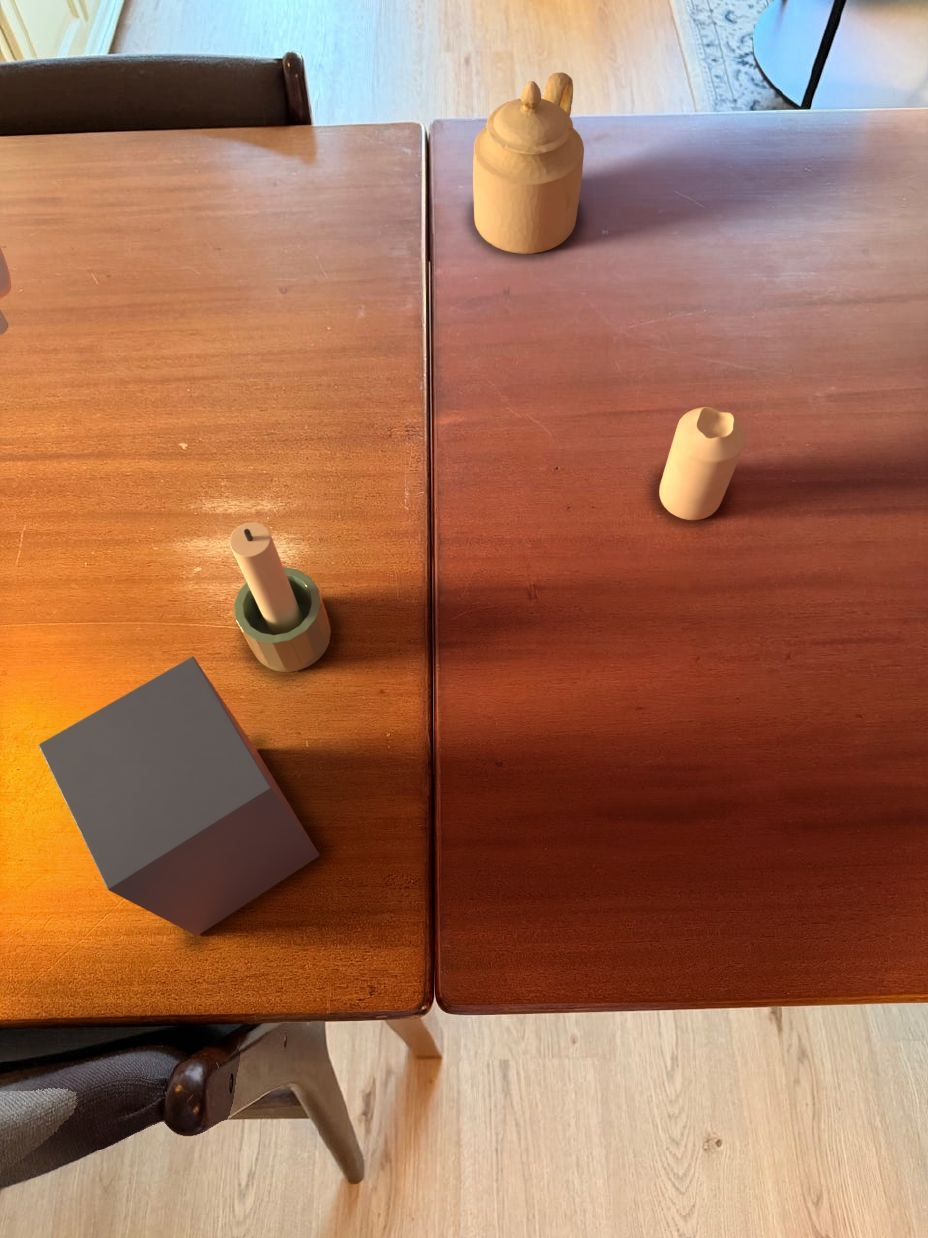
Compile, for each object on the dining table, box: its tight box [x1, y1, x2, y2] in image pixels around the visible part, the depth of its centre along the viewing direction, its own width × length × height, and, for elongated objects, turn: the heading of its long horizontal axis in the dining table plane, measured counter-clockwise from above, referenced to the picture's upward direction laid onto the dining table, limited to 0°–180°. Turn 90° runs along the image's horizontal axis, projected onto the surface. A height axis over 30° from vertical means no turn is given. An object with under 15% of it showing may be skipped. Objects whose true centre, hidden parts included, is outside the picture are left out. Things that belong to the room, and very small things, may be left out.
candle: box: [659, 406, 747, 521], centre depth 76 cm, size 6×6×10 cm
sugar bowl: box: [472, 71, 585, 255], centre depth 91 cm, size 15×11×15 cm
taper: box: [229, 521, 304, 635], centre depth 67 cm, size 3×3×15 cm
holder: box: [233, 566, 332, 673], centre depth 72 cm, size 7×7×6 cm
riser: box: [38, 656, 320, 937], centre depth 59 cm, size 10×10×17 cm
